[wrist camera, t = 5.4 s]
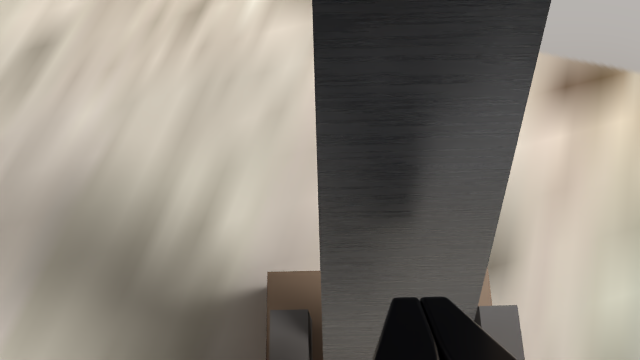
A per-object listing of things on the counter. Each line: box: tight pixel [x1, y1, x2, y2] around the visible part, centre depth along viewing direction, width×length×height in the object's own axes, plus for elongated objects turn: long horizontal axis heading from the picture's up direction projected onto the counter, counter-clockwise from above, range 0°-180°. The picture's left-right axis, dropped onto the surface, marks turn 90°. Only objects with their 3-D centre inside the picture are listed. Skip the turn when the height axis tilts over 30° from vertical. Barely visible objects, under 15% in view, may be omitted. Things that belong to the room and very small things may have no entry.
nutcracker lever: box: [312, 0, 551, 360], centre depth 9 cm, size 3×3×12 cm
